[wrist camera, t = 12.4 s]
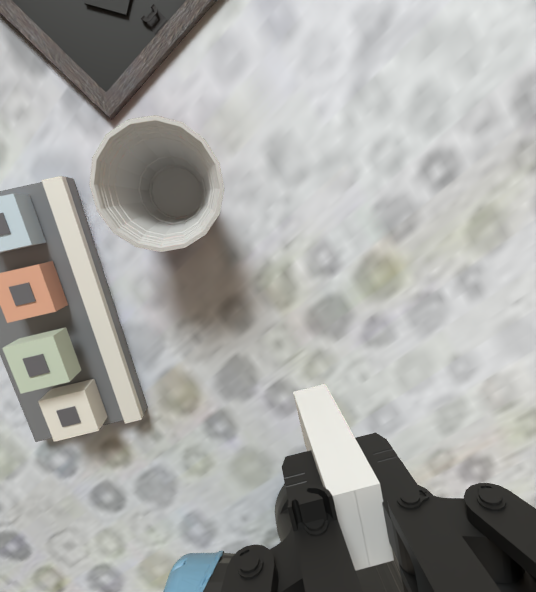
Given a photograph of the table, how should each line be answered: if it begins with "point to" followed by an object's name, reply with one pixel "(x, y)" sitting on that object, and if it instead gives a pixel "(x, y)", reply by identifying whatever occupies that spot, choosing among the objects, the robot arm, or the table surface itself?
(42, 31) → the picture frame
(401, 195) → the table surface
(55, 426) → the key ivory
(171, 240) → the plastic cup
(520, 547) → the robot arm
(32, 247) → the keypad base
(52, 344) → the key sage
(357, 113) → the table surface
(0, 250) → the key blue
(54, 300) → the key terracotta
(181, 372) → the table surface
